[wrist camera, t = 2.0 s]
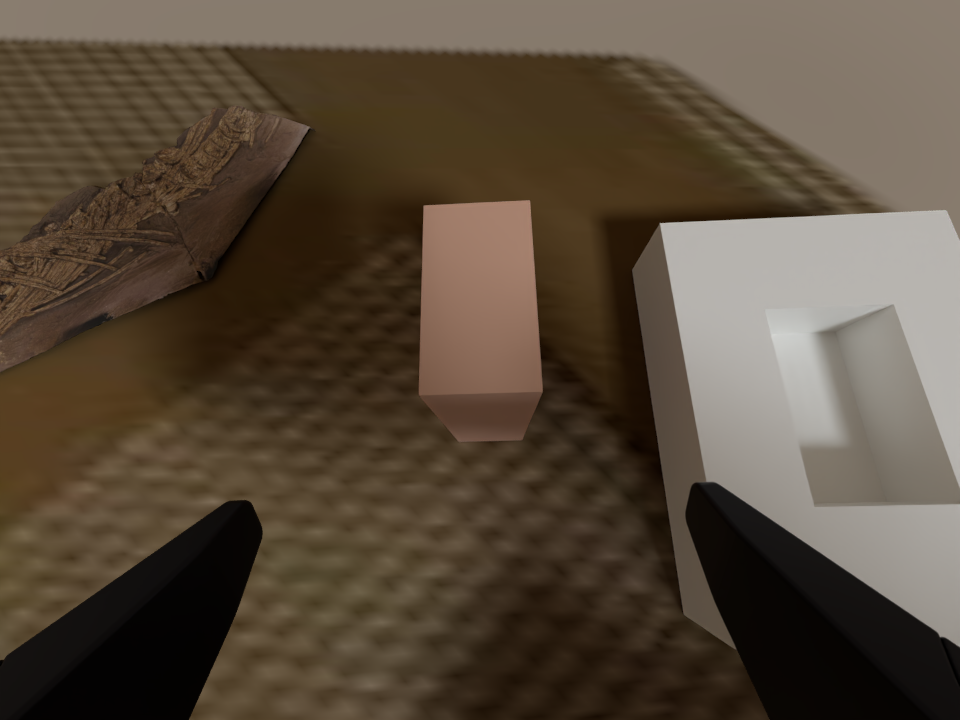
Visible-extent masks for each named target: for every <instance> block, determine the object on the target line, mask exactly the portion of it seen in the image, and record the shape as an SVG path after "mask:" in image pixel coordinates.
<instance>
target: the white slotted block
mask: <svg viewBox="0 0 960 720" xmlns="http://www.w3.org/2000/svg"><path fill="white" fill-rule="evenodd" d="M632 273H633V280H634V287H635V293H636V300H637V307H638V313H639V320H640V327H641V333H642V340H643V347H644V353H645V360H646V367H647V374H648V380H649V387H650V394H651V400H652V407H653V414H654V420H655V427H656V434H657V440H658V447H659V454H660V460H661V467H662V474H663V480H664V487H665V494H666V501H667V507H668V514H669V521H670V527H671V534H672V541H673V547H674V554H675V561H676V567H677V574H678V581H679V587H680V594H681V601H682V608H683V614H684V615H685V616H686V617H688V618H689V619H691V620H692V621H694V622H695V623H697V624H698V625H700V626H701V627H703V628H704V629H705V630H707V631H708V632H710V633H711V634H713V635H714V636H716V637H717V638H719V639H720V640H722V641H723V642H725V643H726V644H728V645H729V646H731V647H732V648H734V649H735V650H737V649H736V647H735V645H734V643H733V641H732V639H731V636H730V634H729V632H728V630H727V628H726V626H725V624H724V622H723V619H722V617H721V615H720V613H719V611H718V608H717V606H716V604H715V602H714V599H713V596H712V594H711V591H710V589H709V586H708V583H707V580H706V577H705V574H704V572H703V569H702V566H701V563H700V560H699V557H698V555H697V552H696V549H695V546H694V543H693V541H692V538H691V535H690V532H689V529H688V526H687V523H686V518H685V511H686V506H687V502H688V497H689V493H690V488H691V486H692V484H693V483H695V482H716V483H718V484H720V485H721V486H723V487H724V488H726V489H727V490H728V491H730V492H731V493H733V494H734V495H736V496H737V497H739V498H740V499H742V500H743V501H745V502H746V503H748V504H749V505H751V506H752V507H754V508H755V509H757V510H758V511H759V512H761V513H762V514H764V515H765V516H767V517H768V518H770V519H771V520H773V521H774V522H776V523H777V524H779V525H780V526H782V527H783V528H785V529H786V530H788V531H789V532H790V533H792V534H793V535H795V536H796V537H798V538H799V539H801V540H802V541H804V542H805V543H807V544H808V545H810V546H811V547H813V548H814V549H816V550H817V551H818V552H820V553H821V554H823V555H824V556H826V557H827V558H829V559H830V560H832V561H833V562H835V563H836V564H838V565H839V566H841V567H842V568H844V569H845V570H847V571H848V572H849V573H851V574H852V575H854V576H855V577H857V578H858V579H860V580H861V581H863V582H864V583H866V584H867V585H869V586H870V587H872V588H873V589H875V590H876V591H878V592H879V593H880V594H882V595H883V596H885V597H886V598H888V599H889V600H891V601H892V602H894V603H895V604H897V605H898V606H900V607H901V608H903V609H904V610H906V611H907V612H909V613H910V614H911V615H913V616H914V617H916V618H917V619H919V620H920V621H922V622H923V623H925V624H926V625H928V626H929V627H931V628H932V629H934V630H935V631H936V632H938V634H939V636H940V637H945V638H947V639H949V640H950V641H952V642H953V643H955V644H956V645H958V646H959V647H960V240H959V238H958V236H957V233H956V231H955V229H954V226H953V224H952V222H951V219H950V217H949V215H948V213H947V210H938V211H916V212H894V213H872V214H850V215H828V216H806V217H784V218H762V219H740V220H719V221H697V222H675V223H660V224H659V226H658V227H657V229H656V231H655V232H654V234H653V236H652V237H651V239H650V241H649V242H648V244H647V246H646V247H645V249H644V251H643V252H642V254H641V256H640V257H639V259H638V261H637V263H636V264H635V266H634V268H633V269H632Z"/></svg>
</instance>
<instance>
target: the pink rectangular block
mask: <svg viewBox="0 0 960 720" xmlns="http://www.w3.org/2000/svg"><path fill="white" fill-rule="evenodd" d="M542 393H543V386H542V371H541V356H540V342H539V327H538V312H537V297H536V283H535V268H534V253H533V238H532V224H531V209H530V200H527V201H506V202H486V203H465V204H445V205H424V214H423V252H422V290H421V327H420V365H419V396H420V397H421V399H422V400H423V401H424V402H425V403H426V404H427V406H428V407H429V408H430V409H431V410H432V411H433V413H434V414H435V415H436V416H437V417H438V418H439V420H440V421H441V422H442V423H443V424H444V425H445V426H446V428H447V429H448V430H449V431H450V432H451V433H452V435H453V436H454V437H455V438H456V439H457V440H458V442H474V441H514V440H522V439H523V437H524V435H525V432H526V430H527V428H528V425H529V423H530V421H531V418H532V416H533V414H534V411H535V409H536V407H537V404H538V402H539V400H540V397H541V395H542Z"/></svg>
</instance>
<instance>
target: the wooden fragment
mask: <svg viewBox="0 0 960 720" xmlns="http://www.w3.org/2000/svg"><path fill="white" fill-rule="evenodd" d="M308 129H310V130H314V129H312V128H311V127H308V126H306V125H303V124H300V123H297V122H294V121H291V120H289V119H285V118H282V117H279V116H276V115H269V114H265V113H255V112H253V111H252V110H247V109H246V108H243V107H242V106H235V105H234V106H231V107H229V108H228V109H221V108H213V109H212V111H211V114H210V115H208V116H207V117H205V118H203V119H201V120H200V121H199V122H197V123H195V124H194V125H193V126H191V127H189V128H188V129H186V130H185V131H184V132H183V133H182V134H181V135H180V136H179V137H178V138H177V146H174V147H169V148H168V149H161V150H159V151H158V152H155V153H154V156H153V157H152V158H149V159H145V160H144V161H143V162H142V164H143V169H142V171H143V173H135V174H134V176H133V177H127V178H124V179H120V180H118V181H115V182H112V183H110V184H109V185H108V186H107V187H106V188H105V189H102V188H98V187H94V186H87V187H83V188H81V189H80V190H78V191H76V192H74V193H72V194H70V195H69V196H67V197H65V198H64V199H62V200H60V201H56V204H55V206H54V207H52V208H51V209H50V211H49V212H48V213H47V214H46V215H45V216H44V217H43V218H42V219H41V221H40V222H39V223H38V224H36V225H34V226H33V227H32V228H31V230H30V232H29V234H28V235H26V236H25V237H24V238H23V239H22V240H21V241H20V242H18V243H16V244H15V245H14V246H12V247H10V248H8V249H6V250H2V251H0V372H1V371H3V370H5V369H7V368H9V367H12V366H14V365H17V364H19V363H21V362H23V361H26V360H28V359H30V358H31V357H33V356H36V355H37V354H39V353H42V352H45V351H46V350H48V349H50V348H52V347H54V346H56V345H58V344H60V343H62V342H63V341H65V340H68V339H70V338H72V337H74V336H76V335H78V334H79V333H81V332H83V331H86V330H88V329H91V328H93V327H95V326H98V325H100V324H102V323H103V322H106V321H109V320H112V319H114V318H116V317H119V316H121V315H123V314H126V313H128V312H130V311H134V310H135V309H138V308H140V307H142V306H144V305H147V304H149V303H151V302H153V301H154V300H157V299H161V298H163V296H167V294H168V293H173V292H176V291H179V290H181V289H184V288H186V287H188V286H190V285H192V284H196V283H200V282H203V280H200V278H199V277H200V276H198V273H197V271H200V272H202V275H203V277H204V280H205V281H207V280H209V279H210V278H211V277H212V276H213V274H214V271H215V270H216V268H217V264H218V260H219V259H220V258H221V257H222V256H223V254H224V253H225V251H226V250H227V248H228V247H229V245H230V244H231V242H232V241H233V240H234V238H235V236H236V235H237V234H238V233H239V231H240V230H241V228H242V227H243V226H244V224H245V223H246V221H247V219H248V218H249V217H250V215H251V214H252V212H253V211H254V210H255V208H256V207H257V205H258V204H259V203H260V201H261V200H262V198H263V197H264V196H265V194H266V193H267V191H268V190H269V188H270V187H271V186H272V185H273V183H274V181H275V180H276V178H277V177H278V176H279V174H280V173H281V171H282V170H283V168H285V167H286V165H287V161H290V159H291V157H292V156H293V155H294V153H295V151H296V149H297V147H298V146H299V144H300V143H301V141H302V138H303V137H304V136H305V134H306V133H307V131H308ZM314 131H315V130H314Z"/></svg>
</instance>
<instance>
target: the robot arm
mask: <svg viewBox="0 0 960 720" xmlns="http://www.w3.org/2000/svg"><path fill="white" fill-rule="evenodd" d="M685 518H686V523H687V526H688V529H689V532H690V535H691V538H692V541H693V543H694V546H695V549H696V552H697V555H698V557H699V560H700V563H701V566H702V569H703V572H704V574H705V577H706V580H707V583H708V586H709V589H710V591H711V594H712V596H713V599H714V602H715V604H716V606H717V608H718V611H719V613H720V615H721V617H722V619H723V622H724V624H725V626H726V628H727V630H728V632H729V634H730V636H731V639H732V641H733V643H734V645H735V647H736V649H737V651H738V653H739V655H740V658H741V660H742V662H743V664H744V666H745V668H746V670H747V672H748V675H749V677H750V679H751V681H752V683H753V685H754V687H755V689H756V692H757V694H758V696H759V698H760V700H761V702H762V704H763V706H764V709H765V711H766V713H767V715H768V717H769V719H770V720H960V647H959V646H958V645H956V644H955V643H953V642H952V641H950V640H949V639H947V638H945V637H940V636H939V634H938V632H936V631H935V630H934V629H932V628H931V627H929V626H928V625H926V624H925V623H923V622H922V621H920V620H919V619H917V618H916V617H914V616H913V615H911V614H910V613H909V612H907V611H906V610H904V609H903V608H901V607H900V606H898V605H897V604H895V603H894V602H892V601H891V600H889V599H888V598H886V597H885V596H883V595H882V594H880V593H879V592H878V591H876V590H875V589H873V588H872V587H870V586H869V585H867V584H866V583H864V582H863V581H861V580H860V579H858V578H857V577H855V576H854V575H852V574H851V573H849V572H848V571H847V570H845V569H844V568H842V567H841V566H839V565H838V564H836V563H835V562H833V561H832V560H830V559H829V558H827V557H826V556H824V555H823V554H821V553H820V552H818V551H817V550H816V549H814V548H813V547H811V546H810V545H808V544H807V543H805V542H804V541H802V540H801V539H799V538H798V537H796V536H795V535H793V534H792V533H790V532H789V531H788V530H786V529H785V528H783V527H782V526H780V525H779V524H777V523H776V522H774V521H773V520H771V519H770V518H768V517H767V516H765V515H764V514H762V513H761V512H759V511H758V510H757V509H755V508H754V507H752V506H751V505H749V504H748V503H746V502H745V501H743V500H742V499H740V498H739V497H737V496H736V495H734V494H733V493H731V492H730V491H728V490H727V489H726V488H724V487H723V486H721V485H720V484H718V483H716V482H695V483H693V484H692V486H691V488H690V493H689V497H688V502H687V506H686V511H685ZM262 534H263V531H262V526H261V523H260V521H259V519H258V516H257V514H256V512H255V510H254V507H253V505H252V503H251V502H249V501H247V500H236V501H228V502H226V503H224V504H223V505H221V506H220V507H218V508H217V509H216V510H214V511H213V512H211V513H210V514H208V515H207V516H206V517H204V518H203V519H201V520H200V521H198V522H197V523H196V524H194V525H193V526H191V527H190V528H188V529H187V530H186V531H184V532H183V533H181V534H180V535H178V536H177V537H176V538H174V539H173V540H171V541H170V542H168V543H167V544H166V545H164V546H163V547H161V548H160V549H158V550H157V551H155V552H154V553H153V554H151V555H150V556H148V557H147V558H145V559H144V560H143V561H141V562H140V563H138V564H137V565H135V566H134V567H133V568H131V569H130V570H128V571H127V572H125V573H124V574H123V575H121V576H120V577H118V578H117V579H115V580H114V581H113V582H111V583H110V584H108V585H107V586H105V587H104V588H103V589H101V590H100V591H98V592H97V593H95V594H94V595H93V596H91V597H90V598H88V599H87V600H85V601H84V602H83V603H81V604H80V605H78V606H77V607H75V608H74V609H73V610H71V611H70V612H68V613H67V614H65V615H64V616H63V617H61V618H60V619H58V620H57V621H55V622H54V623H52V624H51V625H50V626H48V627H47V628H45V629H44V630H42V631H41V632H40V633H38V634H37V635H35V636H34V637H32V638H31V639H30V640H28V641H27V642H25V643H24V644H22V645H21V646H20V647H18V648H17V649H15V650H14V651H12V652H11V653H10V654H8V655H7V656H6V657H5V659H4V660H0V720H189V718H190V716H191V714H192V712H193V709H194V707H195V705H196V703H197V700H198V698H199V696H200V694H201V692H202V689H203V687H204V685H205V683H206V680H207V678H208V676H209V674H210V671H211V669H212V667H213V665H214V663H215V660H216V658H217V656H218V654H219V651H220V649H221V647H222V645H223V642H224V640H225V638H226V636H227V634H228V631H229V629H230V627H231V624H232V622H233V620H234V617H235V615H236V612H237V610H238V607H239V604H240V601H241V599H242V596H243V593H244V590H245V587H246V584H247V581H248V578H249V575H250V572H251V569H252V566H253V563H254V560H255V558H256V555H257V552H258V549H259V546H260V543H261V540H262Z"/></svg>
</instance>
